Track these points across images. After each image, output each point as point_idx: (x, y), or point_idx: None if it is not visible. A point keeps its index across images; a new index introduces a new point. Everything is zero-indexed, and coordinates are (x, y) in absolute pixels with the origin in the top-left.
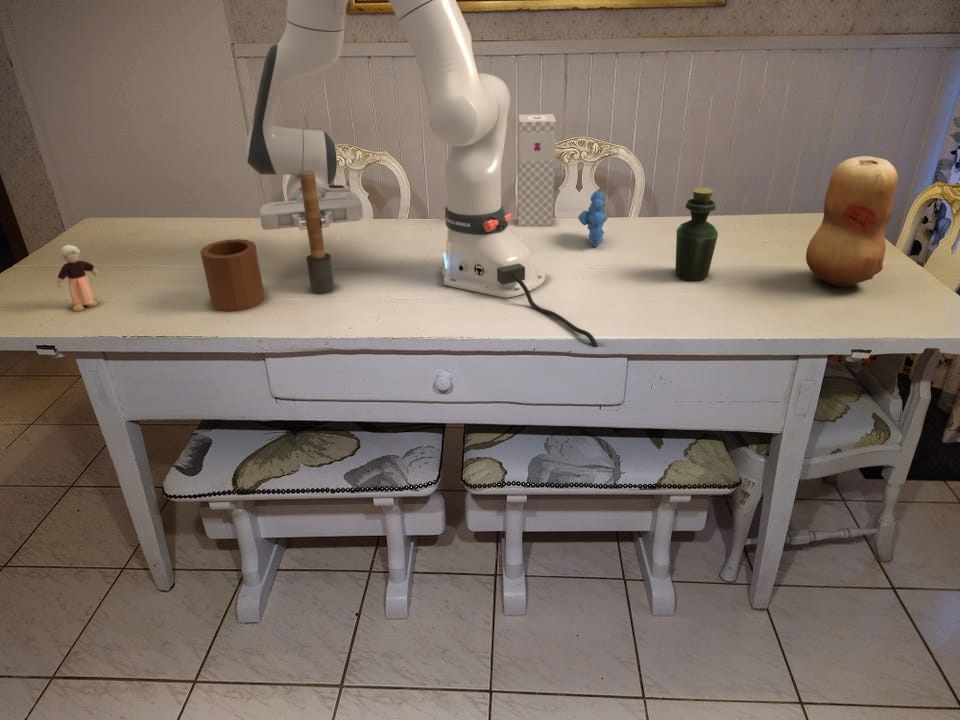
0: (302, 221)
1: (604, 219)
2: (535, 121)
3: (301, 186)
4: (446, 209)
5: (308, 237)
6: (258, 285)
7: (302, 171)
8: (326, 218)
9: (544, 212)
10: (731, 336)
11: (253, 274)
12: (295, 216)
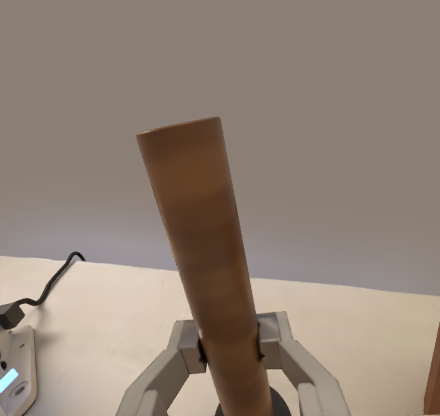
0: (271, 312)
1: None
2: None
3: (232, 186)
4: None
5: (266, 371)
6: (430, 393)
7: (195, 120)
8: (180, 322)
9: None
10: (12, 257)
11: (434, 355)
12: (315, 370)
